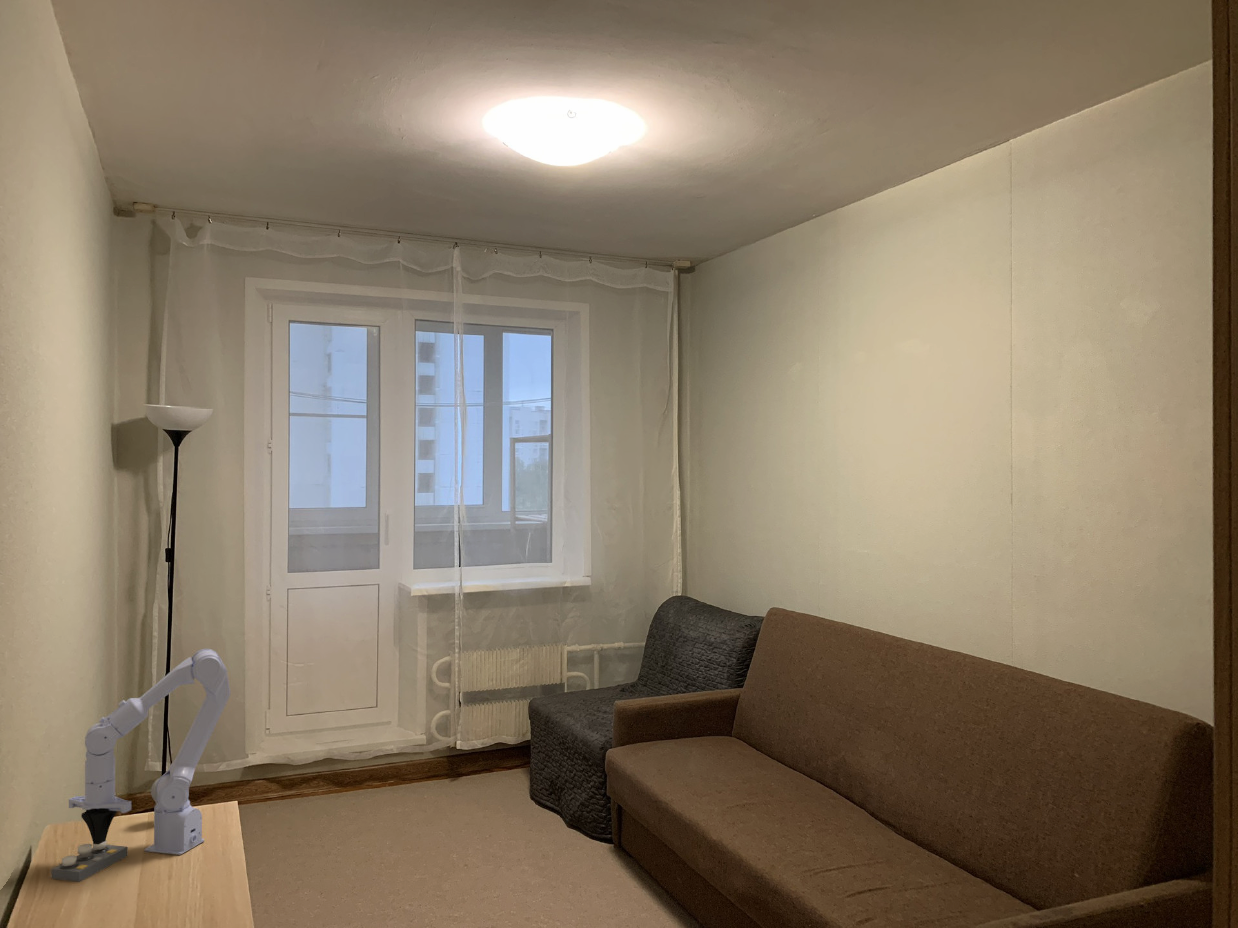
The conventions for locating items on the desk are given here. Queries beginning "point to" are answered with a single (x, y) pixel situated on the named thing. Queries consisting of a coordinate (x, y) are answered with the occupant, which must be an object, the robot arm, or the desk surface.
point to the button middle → (84, 848)
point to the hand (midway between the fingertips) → (99, 842)
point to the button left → (69, 860)
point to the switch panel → (89, 863)
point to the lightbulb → (154, 791)
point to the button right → (99, 846)
